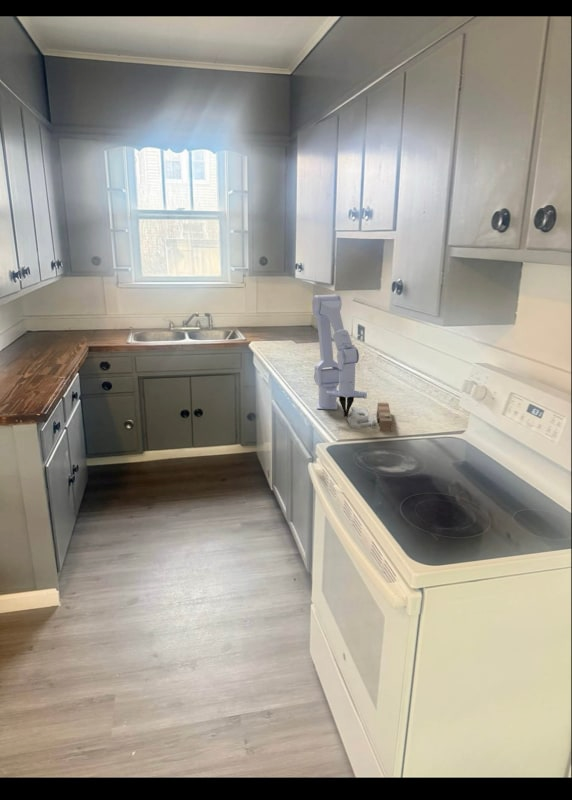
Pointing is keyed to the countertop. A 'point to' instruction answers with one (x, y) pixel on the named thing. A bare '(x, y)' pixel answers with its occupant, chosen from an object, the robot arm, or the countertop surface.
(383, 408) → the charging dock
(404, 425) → the countertop surface
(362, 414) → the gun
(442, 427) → the countertop surface
